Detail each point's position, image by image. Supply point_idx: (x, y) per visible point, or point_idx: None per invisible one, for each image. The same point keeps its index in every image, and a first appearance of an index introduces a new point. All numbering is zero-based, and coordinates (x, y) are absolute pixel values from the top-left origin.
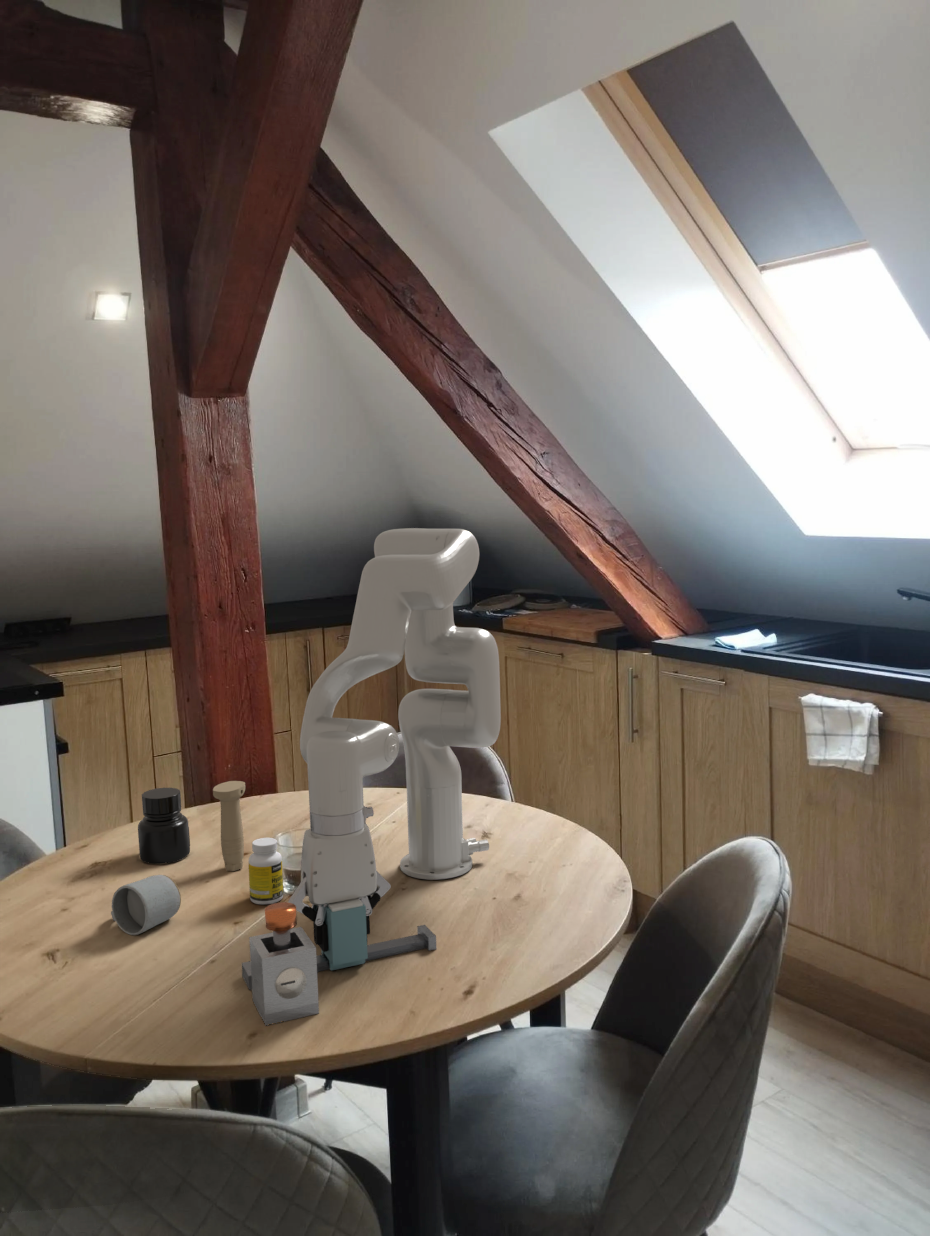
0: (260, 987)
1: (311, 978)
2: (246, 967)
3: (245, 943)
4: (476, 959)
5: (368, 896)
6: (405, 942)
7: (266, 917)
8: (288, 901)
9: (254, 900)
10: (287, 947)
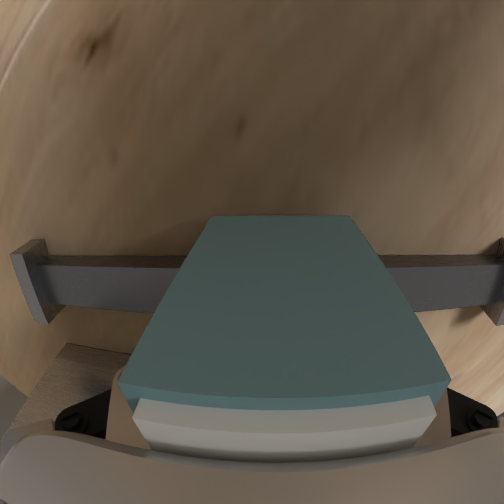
0: None
1: None
2: (22, 282)
3: (45, 47)
4: (497, 359)
5: (453, 433)
6: (462, 297)
7: None
8: (2, 440)
9: None
10: None
